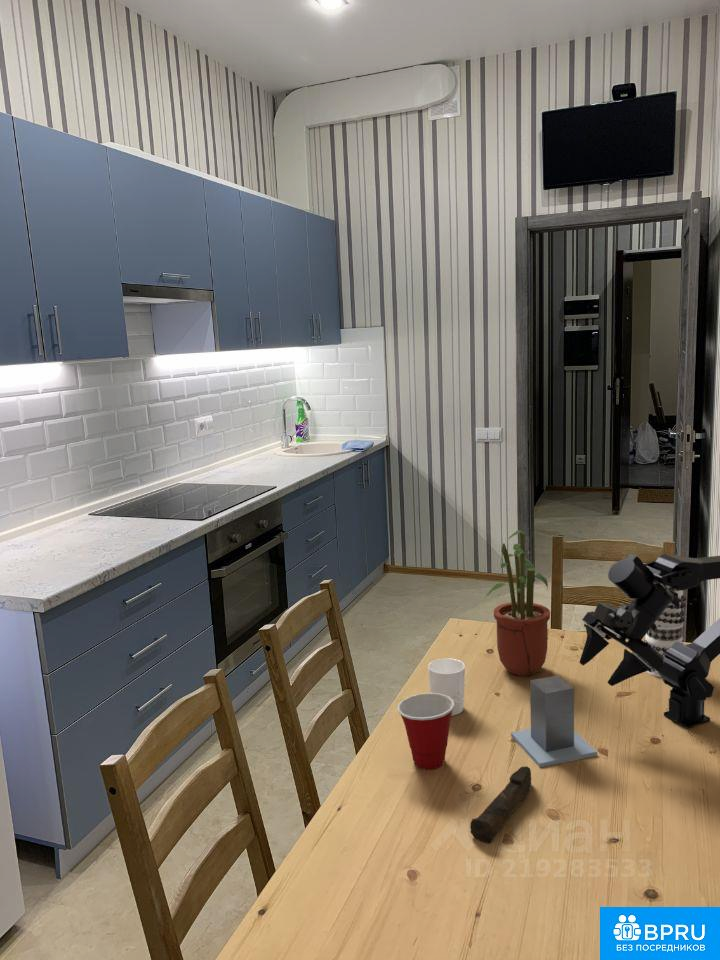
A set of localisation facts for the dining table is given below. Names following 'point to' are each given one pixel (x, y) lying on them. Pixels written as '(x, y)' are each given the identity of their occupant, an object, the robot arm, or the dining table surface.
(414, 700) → the plastic cup
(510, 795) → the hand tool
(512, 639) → the potted plant
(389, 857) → the dining table surface
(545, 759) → the base block
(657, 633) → the decorative candle
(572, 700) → the grey block
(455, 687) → the white cup
